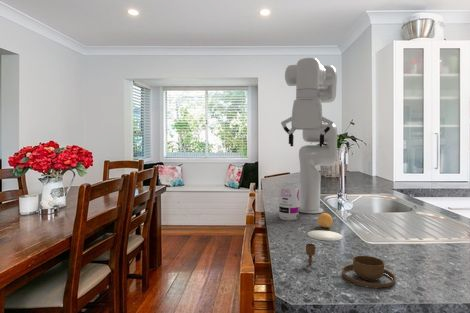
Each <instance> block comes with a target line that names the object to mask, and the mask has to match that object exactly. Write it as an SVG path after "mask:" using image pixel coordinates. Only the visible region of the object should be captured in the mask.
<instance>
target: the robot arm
mask: <svg viewBox="0 0 470 313" xmlns="http://www.w3.org/2000/svg"><path fill="white" fill-rule="evenodd" d="M337 73H338V72H337V69H336V68H335V66H333V65H322V64H321V63H320V60H318V58H316V57H315V58H314V57H304V58H300V59H299V60H298V61H297V63H296V64H291V65H287V67H286V69H285V72H284V80H285V83H286V85H287V86H289V87H295V90H296V91H295V99H294V100H293V104H292V110H291V116H290V117H288V118H286V119H285V120H282V121H281V122H280V124H281V126H282V128H283V130H284V131H285V133H287V135H288V144H289V145H290V147H294V132H295V131H296V130H297V131H298V130H299V131H300V130H301V131H302V139H303V142H306V143H313V144H314V143H315V144H314V145H311V144H307V145H303V146H301V147H300V148H299V150H298V159H299V168H300V169H299V176H300V177H299V211H298V213H303V214H322V213H324V209H323V208H321V207H320V206H321V182H322V181H321V173H320V171H319V170H318V168H316V167H317V166H322V167H323V166H327V167H329V166H330V167H331V166H335V165H336V163H337V160H338V128H337V126H336V124H334V121H332V120H330V119H328V118H326V117H324V116H323V108H322V107H323V106H322V103H323V104H324V103H332V102H334V101H335V99H336V96H337V86H338V84H337V83H338V82H337V81H338V75H337ZM289 123H291V128H290V129H289V128H288V126H287V124H289ZM316 143H318V144H317V145H316ZM325 144H326V145H325Z"/></svg>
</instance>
